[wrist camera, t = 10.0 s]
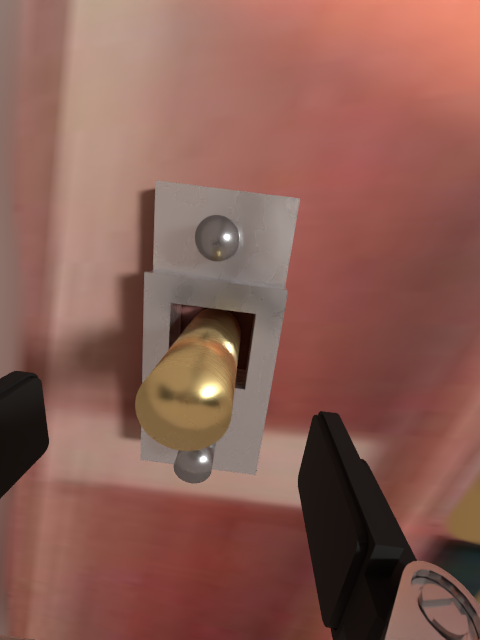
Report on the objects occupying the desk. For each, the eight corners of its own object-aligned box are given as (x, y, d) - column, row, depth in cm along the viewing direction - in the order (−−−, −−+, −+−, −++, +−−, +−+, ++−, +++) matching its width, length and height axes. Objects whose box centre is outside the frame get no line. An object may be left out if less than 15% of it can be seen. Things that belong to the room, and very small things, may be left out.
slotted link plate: (163, 185, 18) (134, 166, 13) (296, 202, 18) (310, 188, 13) (156, 377, 22) (132, 410, 17) (264, 391, 22) (267, 428, 17)
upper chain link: (160, 267, 19) (121, 277, 13) (282, 283, 19) (295, 299, 13) (154, 433, 23) (122, 495, 17) (255, 446, 23) (256, 513, 17)
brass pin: (191, 304, 20) (135, 360, 10) (243, 311, 20) (237, 373, 10) (187, 353, 21) (134, 444, 11) (237, 359, 21) (226, 456, 11)
